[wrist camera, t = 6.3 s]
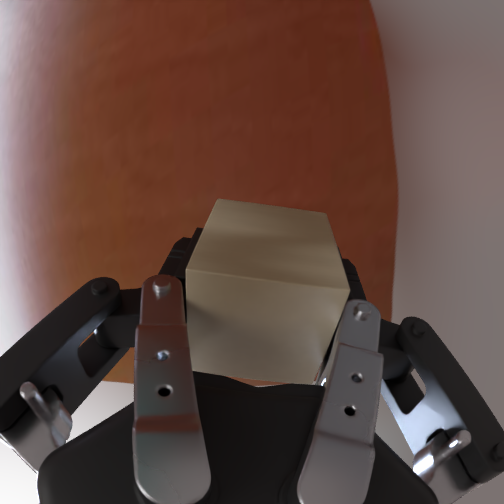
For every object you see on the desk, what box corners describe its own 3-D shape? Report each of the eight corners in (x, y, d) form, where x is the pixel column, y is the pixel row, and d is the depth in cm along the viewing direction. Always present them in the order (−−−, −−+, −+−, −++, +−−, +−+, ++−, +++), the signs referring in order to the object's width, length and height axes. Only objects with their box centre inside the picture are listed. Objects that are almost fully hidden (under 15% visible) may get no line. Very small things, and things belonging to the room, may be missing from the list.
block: (326, 212, 12) (351, 290, 8) (304, 297, 14) (312, 385, 10) (217, 198, 12) (185, 269, 8) (212, 285, 14) (189, 370, 10)
